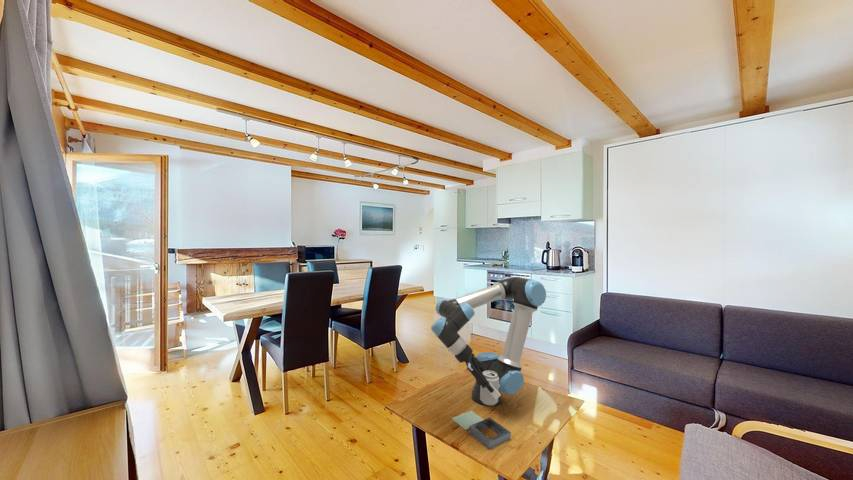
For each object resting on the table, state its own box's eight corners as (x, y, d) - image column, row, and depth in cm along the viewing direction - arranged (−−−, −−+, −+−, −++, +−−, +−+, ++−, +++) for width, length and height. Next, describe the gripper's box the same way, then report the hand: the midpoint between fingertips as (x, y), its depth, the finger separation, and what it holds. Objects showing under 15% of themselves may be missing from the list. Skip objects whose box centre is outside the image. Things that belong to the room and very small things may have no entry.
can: (501, 405, 130) (502, 376, 129) (485, 407, 127) (486, 377, 127) (492, 396, 137) (493, 368, 137) (476, 398, 135) (477, 370, 134)
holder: (489, 424, 140) (489, 417, 140) (510, 439, 130) (510, 432, 130) (468, 433, 133) (469, 425, 133) (489, 449, 123) (489, 442, 123)
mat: (471, 411, 150) (471, 410, 150) (485, 421, 142) (485, 420, 142) (451, 419, 143) (451, 418, 143) (465, 430, 135) (465, 429, 135)
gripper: (456, 347, 145) (490, 386, 142) (451, 364, 125) (491, 410, 122) (468, 336, 144) (503, 376, 141) (465, 352, 124) (506, 399, 121)
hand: (497, 392), depth 131 cm, fingers closed on can, 7 cm apart
